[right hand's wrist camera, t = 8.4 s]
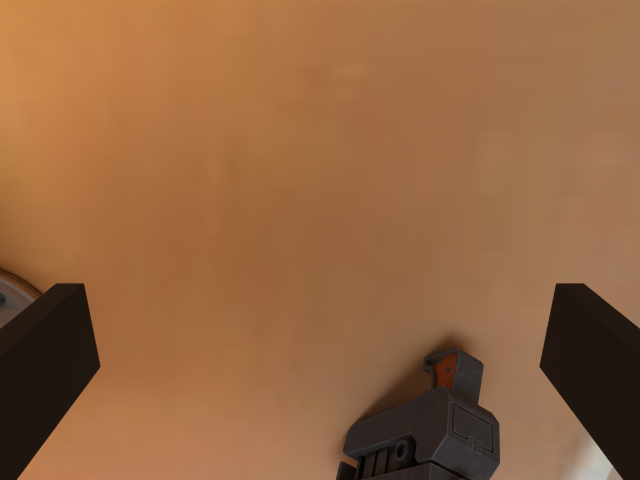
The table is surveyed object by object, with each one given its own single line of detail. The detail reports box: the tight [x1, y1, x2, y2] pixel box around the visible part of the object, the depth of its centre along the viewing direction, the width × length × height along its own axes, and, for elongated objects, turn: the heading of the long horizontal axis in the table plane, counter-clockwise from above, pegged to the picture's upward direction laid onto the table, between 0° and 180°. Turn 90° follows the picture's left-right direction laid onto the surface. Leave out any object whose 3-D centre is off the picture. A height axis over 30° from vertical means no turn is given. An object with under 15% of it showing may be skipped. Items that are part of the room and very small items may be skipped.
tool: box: [336, 348, 500, 480], centre depth 44 cm, size 6×19×15 cm, turn 147°
